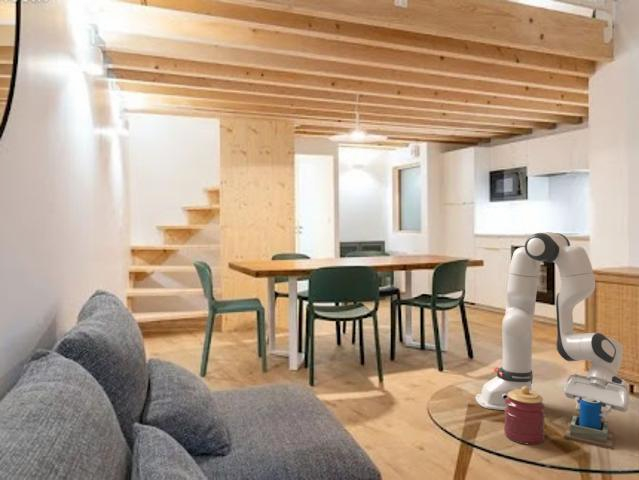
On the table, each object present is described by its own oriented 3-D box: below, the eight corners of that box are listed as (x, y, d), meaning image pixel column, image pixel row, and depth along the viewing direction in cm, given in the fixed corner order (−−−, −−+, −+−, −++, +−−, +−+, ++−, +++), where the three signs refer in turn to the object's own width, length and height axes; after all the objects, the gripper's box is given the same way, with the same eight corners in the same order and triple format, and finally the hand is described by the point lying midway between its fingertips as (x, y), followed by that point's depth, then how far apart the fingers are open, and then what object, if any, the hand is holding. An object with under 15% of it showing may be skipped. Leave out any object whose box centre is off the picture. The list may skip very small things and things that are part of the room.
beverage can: (599, 439, 167) (600, 404, 166) (578, 434, 170) (579, 400, 170) (600, 432, 172) (602, 398, 171) (580, 427, 175) (581, 394, 175)
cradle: (611, 449, 162) (612, 435, 161) (564, 438, 169) (564, 425, 169) (613, 433, 173) (613, 421, 173) (568, 424, 181) (569, 412, 181)
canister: (507, 425, 179) (508, 377, 178) (546, 434, 172) (548, 384, 172) (500, 439, 168) (501, 388, 167) (541, 448, 161) (543, 395, 160)
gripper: (568, 368, 182) (556, 400, 176) (631, 382, 167) (620, 418, 161) (572, 377, 186) (561, 409, 179) (634, 392, 171) (624, 427, 164)
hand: (589, 414), depth 170 cm, fingers closed on beverage can, 6 cm apart
